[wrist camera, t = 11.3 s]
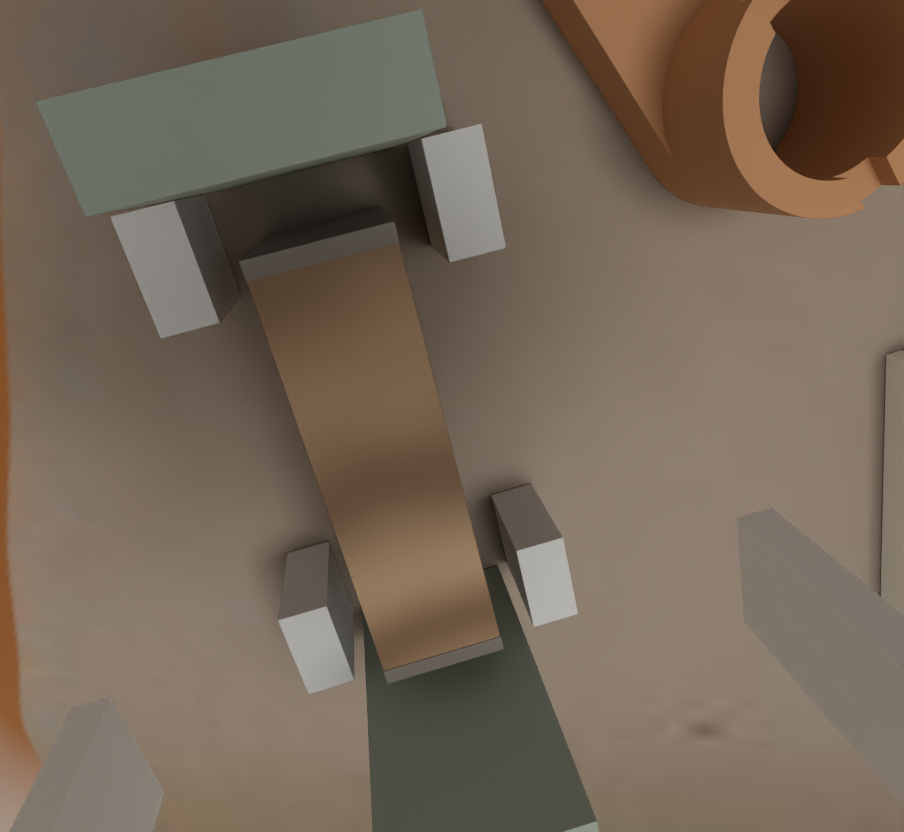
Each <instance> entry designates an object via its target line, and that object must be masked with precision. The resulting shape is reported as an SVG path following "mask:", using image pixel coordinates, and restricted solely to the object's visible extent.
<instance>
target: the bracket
mask: <svg viewBox="0 0 904 832" xmlns="http://www.w3.org/2000/svg"><path fill="white" fill-rule="evenodd" d="M542 2H543V3H544V5H545V7H546V8H547V10H548V11H549V13H550V14H551V16H552V18H553V19H554V21H555V22H556V24H557V25H558V27H559V28H560V30H561V32H562V33H563V35H564V36H565V38H566V39H567V41H568V42H569V44H570V46H571V47H572V49H573V50H574V52H575V53H576V55H577V57H578V58H579V60H580V61H581V63H582V64H583V66H584V67H585V69H586V71H587V72H588V74H589V75H590V77H591V78H592V80H593V81H594V83H595V85H596V86H597V88H598V89H599V91H600V92H601V94H602V95H603V97H604V99H605V100H606V102H607V103H608V105H609V106H610V108H611V110H612V111H613V113H614V114H615V116H616V117H617V119H618V120H619V122H620V124H621V125H622V127H623V128H624V130H625V131H626V133H627V134H628V136H629V138H630V139H631V141H632V142H633V144H634V145H635V147H636V149H637V150H638V152H639V153H640V155H641V156H642V158H643V159H644V161H645V163H646V164H647V166H648V167H649V169H650V170H651V172H652V173H653V175H654V176H655V177H656V178H657V180H658V181H659V182H660V183H661V184H662V185H663V186H664V187H665V188H666V189H667V190H669V191H670V192H671V193H673V194H674V195H675V196H677V197H679V198H681V199H682V200H685V201H687V202H690V203H692V204H696V205H700V206H706V207H714V208H723V209H732V210H741V211H750V212H759V213H768V214H778V215H787V216H796V217H805V218H834V217H840V216H844V215H848V214H852V213H855V212H857V211H860V210H863V209H865V208H864V206H863V204H862V202H861V200H862V199H864V198H865V197H867V196H869V195H870V194H871V193H872V192H874V191H875V190H876V189H877V188H878V187H880V186H881V185H901V184H903V183H904V0H542ZM773 29H774V30H775V31H776V32H777V33H778V34H779V35H780V36H781V37H782V38H783V39H784V41H785V42H786V44H787V45H788V47H789V49H790V51H791V53H792V55H793V58H794V61H795V64H796V68H797V74H798V99H797V105H796V110H795V113H794V116H793V120H792V122H791V124H790V127H789V129H788V131H787V133H786V135H785V136H784V138H783V140H782V141H781V143H780V144H779V145H778V147H777V148H776V149H775V150H774V151H773V149H772V148H771V146H770V144H769V142H768V140H767V138H766V135H765V133H764V129H763V126H762V122H761V116H760V108H759V88H760V79H761V74H762V69H763V65H764V61H765V58H766V55H767V52H768V50H769V47H770V44H771V42H772V40H773V38H774V36H775V32H774V30H773Z"/></svg>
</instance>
